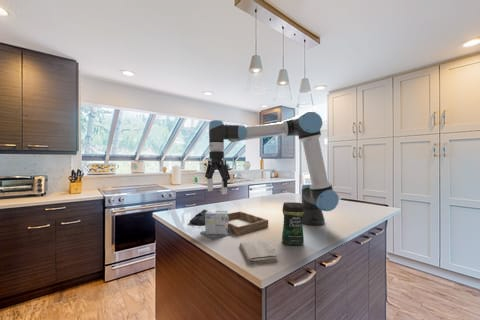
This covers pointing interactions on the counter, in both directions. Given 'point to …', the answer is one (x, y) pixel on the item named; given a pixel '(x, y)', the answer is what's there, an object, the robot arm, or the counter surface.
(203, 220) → the dark slate chunk
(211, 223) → the light bulb box
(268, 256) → the washcloth
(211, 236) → the mat
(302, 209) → the coffee jar
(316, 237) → the counter surface
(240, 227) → the brown wooden tray
